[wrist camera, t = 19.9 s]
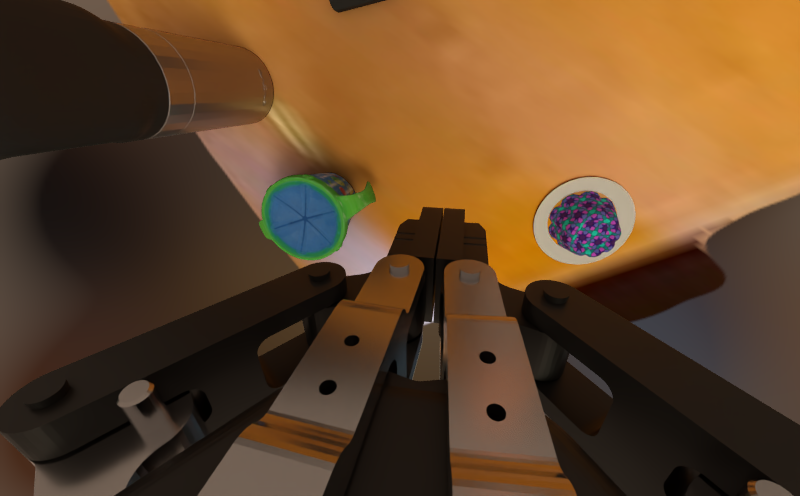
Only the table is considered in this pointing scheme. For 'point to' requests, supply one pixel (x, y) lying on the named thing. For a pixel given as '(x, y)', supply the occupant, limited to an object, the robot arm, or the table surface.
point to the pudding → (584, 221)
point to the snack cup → (311, 213)
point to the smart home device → (350, 4)
